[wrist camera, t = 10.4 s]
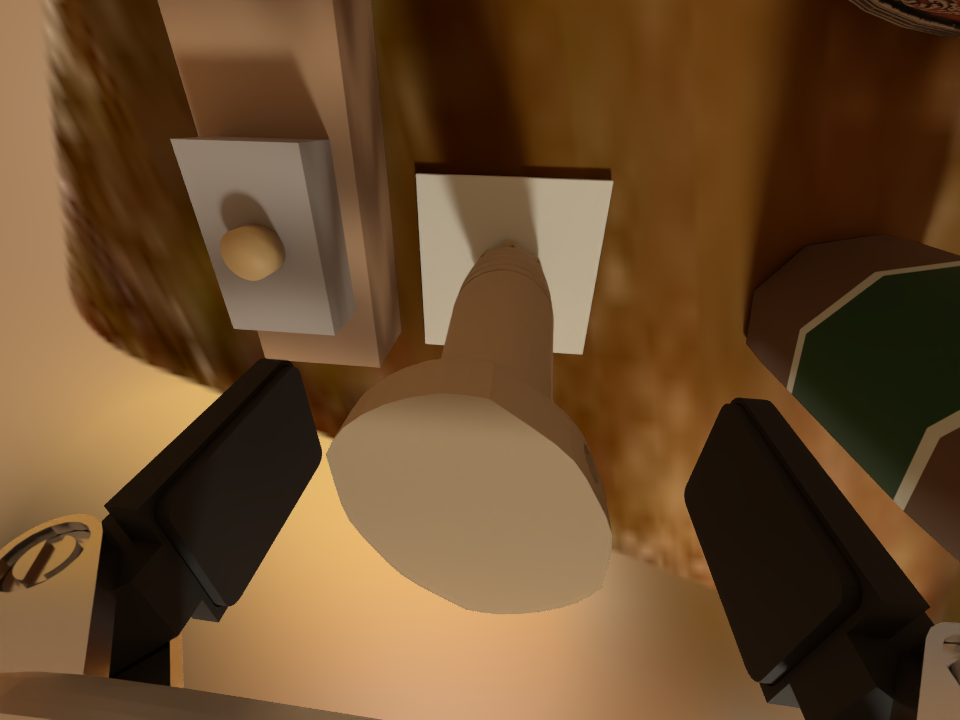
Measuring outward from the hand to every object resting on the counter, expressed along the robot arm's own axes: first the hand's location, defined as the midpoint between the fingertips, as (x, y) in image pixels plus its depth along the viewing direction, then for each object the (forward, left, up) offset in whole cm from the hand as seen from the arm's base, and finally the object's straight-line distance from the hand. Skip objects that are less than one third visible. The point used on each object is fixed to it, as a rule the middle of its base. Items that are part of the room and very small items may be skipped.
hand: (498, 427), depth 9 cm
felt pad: (+1, 0, -13) cm, 13 cm away
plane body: (-4, -9, -13) cm, 17 cm away
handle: (+1, 0, -13) cm, 13 cm away
